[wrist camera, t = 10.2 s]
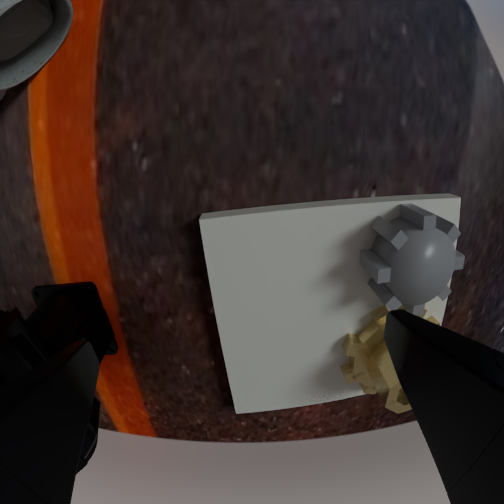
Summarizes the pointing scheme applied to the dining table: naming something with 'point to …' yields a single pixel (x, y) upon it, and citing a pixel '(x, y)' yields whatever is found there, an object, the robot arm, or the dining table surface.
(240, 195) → the dining table surface
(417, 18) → the dining table surface
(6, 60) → the ceramic mug
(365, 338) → the gear
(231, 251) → the carrier
